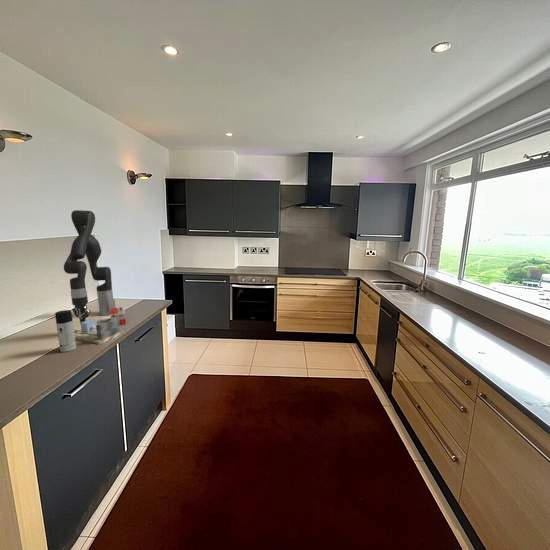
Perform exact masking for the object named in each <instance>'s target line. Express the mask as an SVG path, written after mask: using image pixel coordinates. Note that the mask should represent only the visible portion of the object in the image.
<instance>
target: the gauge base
mask: <svg viewBox="0 0 550 550" xmlns="http://www.w3.org/2000/svg"><path fill="white" fill-rule="evenodd" d="M96 330H97V331H94V332H92V333H87V332H80V331H82V330H81V329H77V330H76V329H74V335H75V340H78V341H83V342H87V343H93V344H97V345H101V344H104V343H105V342H107V341H110V340H113V339H114V338H117V337H119V336H123V335H124V334H125V330H123V329H122V328H121V325H120V320H119V319H118V318H115V319H112V320H111V319H110V320H107V321H104V322H100V323H97V325H96ZM77 332H80V333H78V334H76V333H77Z"/></svg>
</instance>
